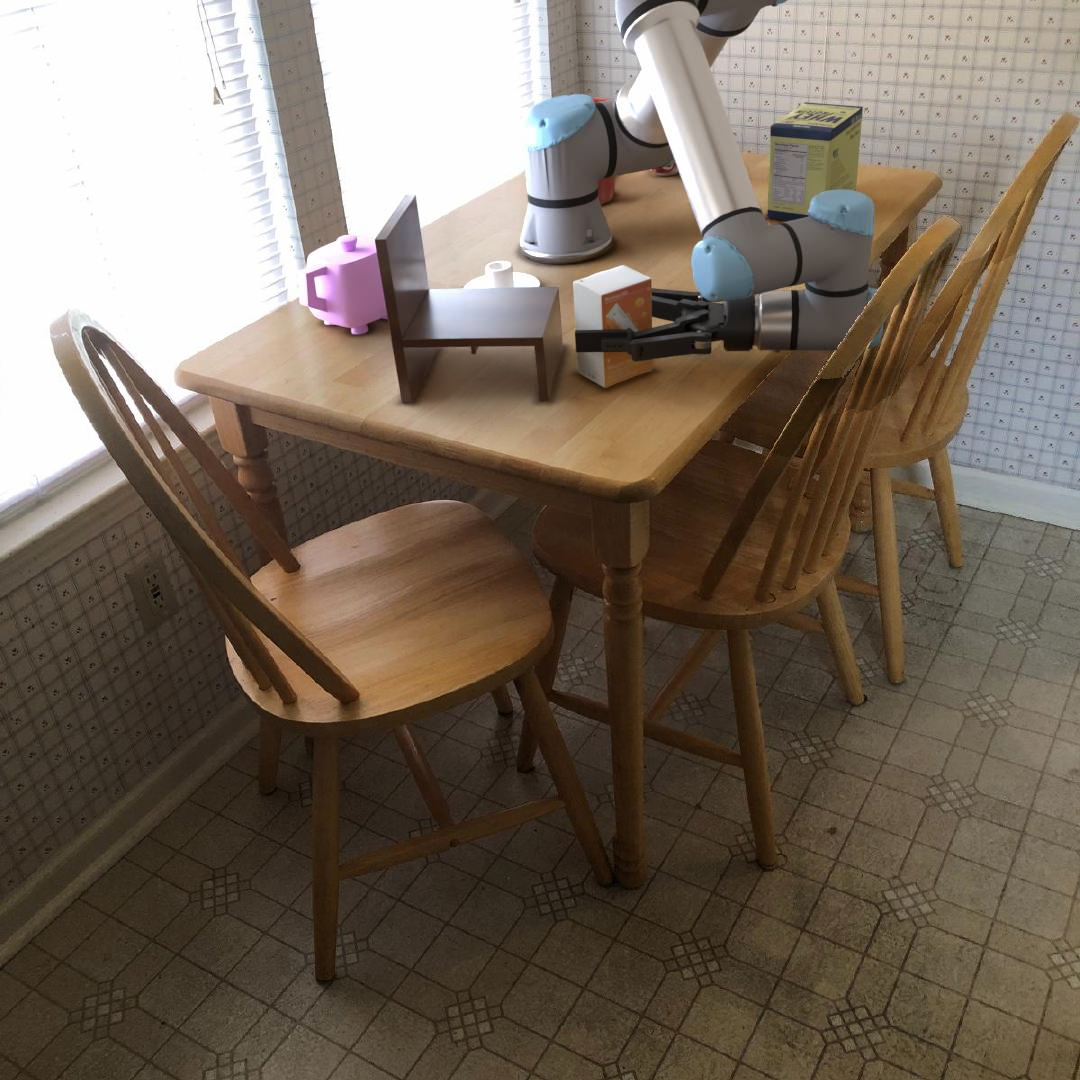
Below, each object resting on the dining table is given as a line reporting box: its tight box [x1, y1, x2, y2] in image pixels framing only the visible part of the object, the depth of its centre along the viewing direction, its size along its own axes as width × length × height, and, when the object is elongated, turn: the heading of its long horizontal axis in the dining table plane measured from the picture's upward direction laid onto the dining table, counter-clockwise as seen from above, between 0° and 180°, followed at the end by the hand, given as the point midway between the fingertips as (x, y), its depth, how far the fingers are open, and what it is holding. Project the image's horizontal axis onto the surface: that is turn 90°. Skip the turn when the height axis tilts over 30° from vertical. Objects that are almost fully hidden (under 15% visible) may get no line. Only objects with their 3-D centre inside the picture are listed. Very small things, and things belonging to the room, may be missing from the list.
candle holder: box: [463, 260, 541, 289], centre depth 173 cm, size 12×12×4 cm
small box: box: [572, 264, 654, 389], centre depth 145 cm, size 8×6×13 cm
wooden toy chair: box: [374, 194, 564, 403], centre depth 145 cm, size 16×19×22 cm
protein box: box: [766, 101, 864, 221], centre depth 189 cm, size 10×16×16 cm
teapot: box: [297, 234, 388, 335], centre depth 166 cm, size 20×12×13 cm, turn 139°
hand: (580, 323), depth 145 cm, fingers closed on small box, 10 cm apart
